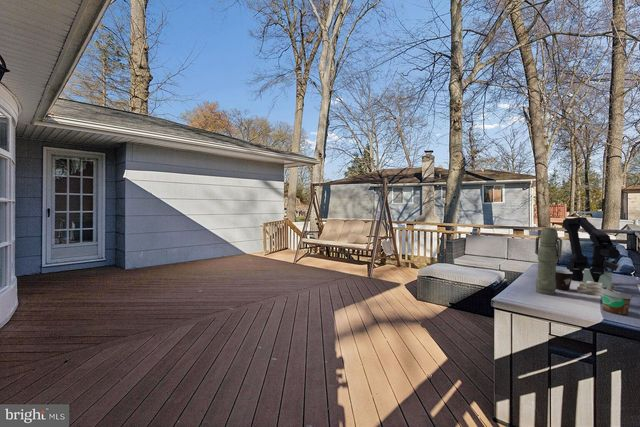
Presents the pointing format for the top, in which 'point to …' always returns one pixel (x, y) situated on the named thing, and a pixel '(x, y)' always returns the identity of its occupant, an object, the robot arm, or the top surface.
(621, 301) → the food container
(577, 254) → the robot arm
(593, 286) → the offcut stack
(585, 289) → the rack
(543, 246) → the thermos
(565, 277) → the coffee mug
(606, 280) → the green board
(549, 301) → the top surface
